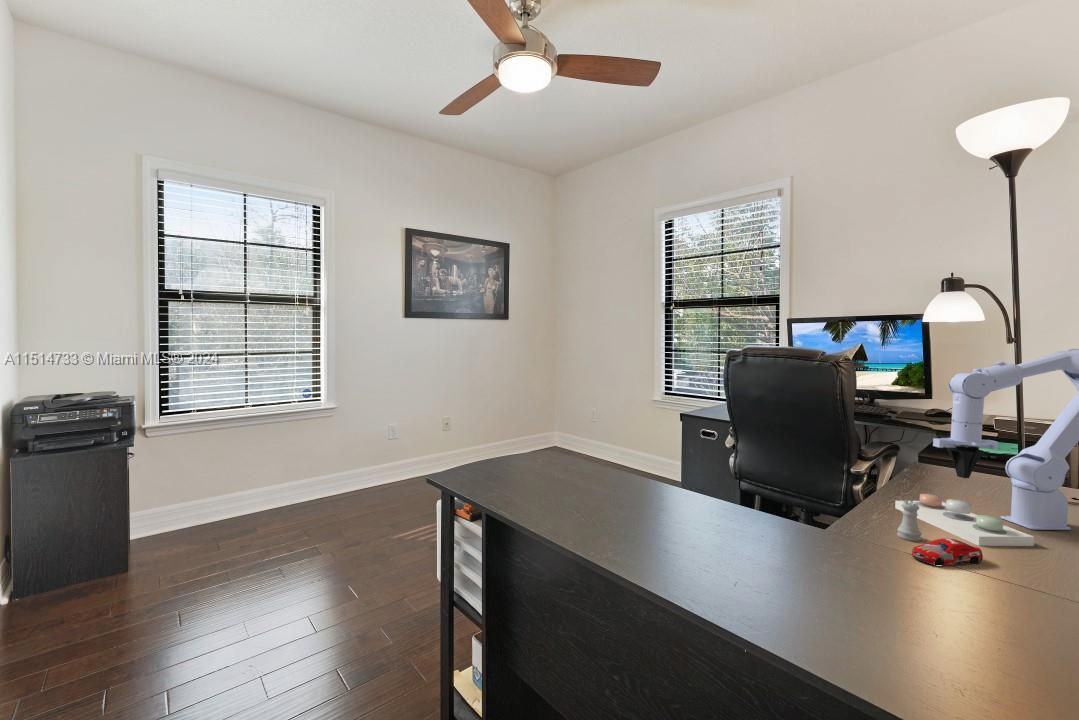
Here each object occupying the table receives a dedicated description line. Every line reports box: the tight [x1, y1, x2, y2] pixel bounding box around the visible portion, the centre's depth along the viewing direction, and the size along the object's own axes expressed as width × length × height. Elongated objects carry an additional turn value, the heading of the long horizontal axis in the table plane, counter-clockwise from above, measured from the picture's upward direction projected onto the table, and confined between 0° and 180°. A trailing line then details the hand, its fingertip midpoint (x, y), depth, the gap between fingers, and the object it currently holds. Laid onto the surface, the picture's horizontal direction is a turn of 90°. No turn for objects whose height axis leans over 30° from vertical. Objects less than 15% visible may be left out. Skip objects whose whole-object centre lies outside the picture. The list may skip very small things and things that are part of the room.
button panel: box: [894, 500, 1035, 547], centre depth 117 cm, size 12×24×2 cm, turn 1°
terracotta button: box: [919, 493, 943, 507], centre depth 125 cm, size 4×4×2 cm
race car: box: [911, 537, 984, 566], centre depth 98 cm, size 13×5×4 cm, turn 97°
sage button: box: [976, 514, 1004, 531], centre depth 109 cm, size 4×4×2 cm
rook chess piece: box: [896, 500, 923, 543], centre depth 109 cm, size 4×4×8 cm
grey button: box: [945, 498, 972, 514], centre depth 117 cm, size 4×4×2 cm
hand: (963, 477), depth 121 cm, fingers closed
